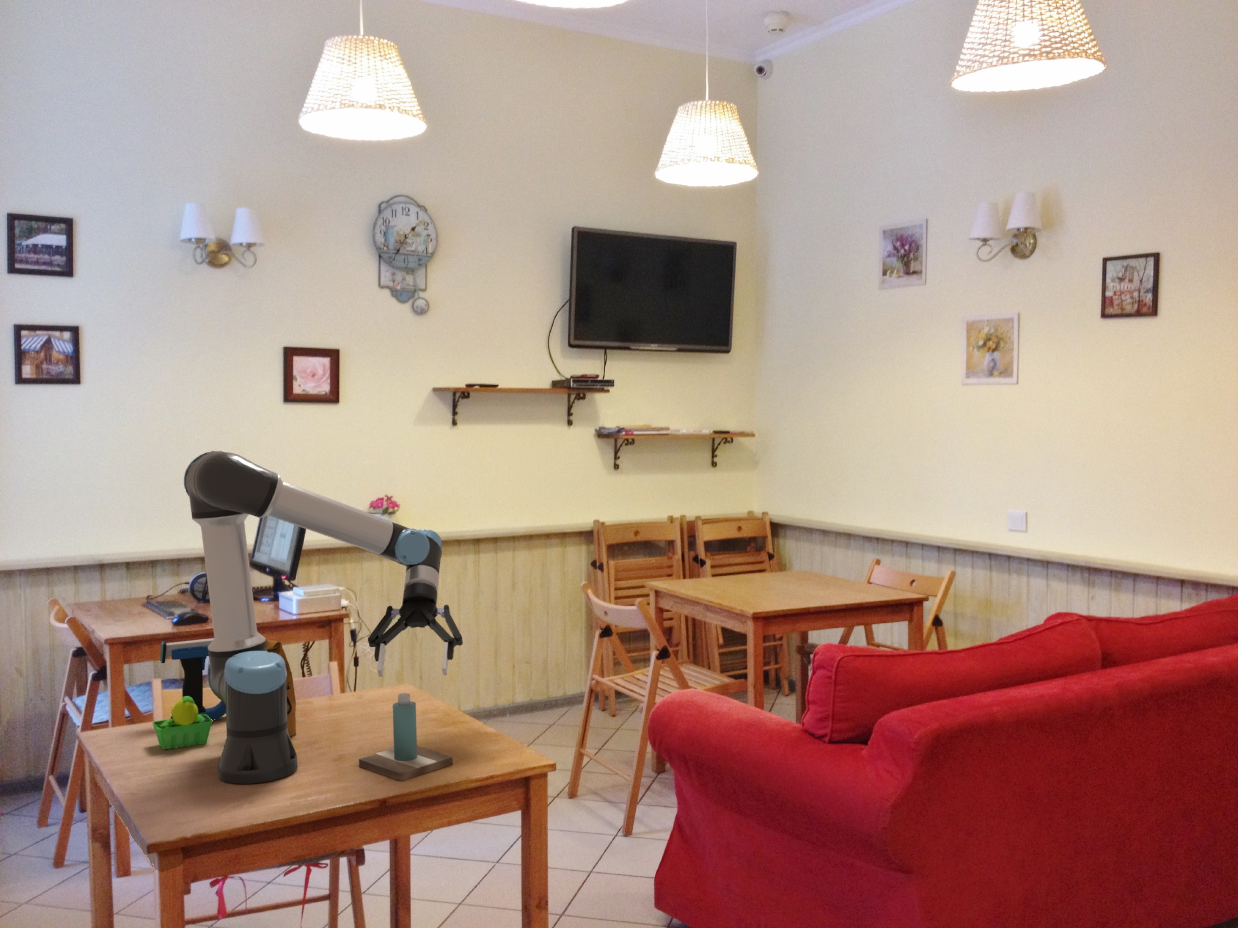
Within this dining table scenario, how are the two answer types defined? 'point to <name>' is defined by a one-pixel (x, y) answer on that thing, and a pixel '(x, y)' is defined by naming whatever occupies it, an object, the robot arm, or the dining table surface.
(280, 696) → the robot arm
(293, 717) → the coffee package
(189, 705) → the fruit basket
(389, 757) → the brown cream striped panel
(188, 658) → the handheld scanner
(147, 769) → the dining table surface
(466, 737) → the dining table surface
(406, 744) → the teal bottle with cap
